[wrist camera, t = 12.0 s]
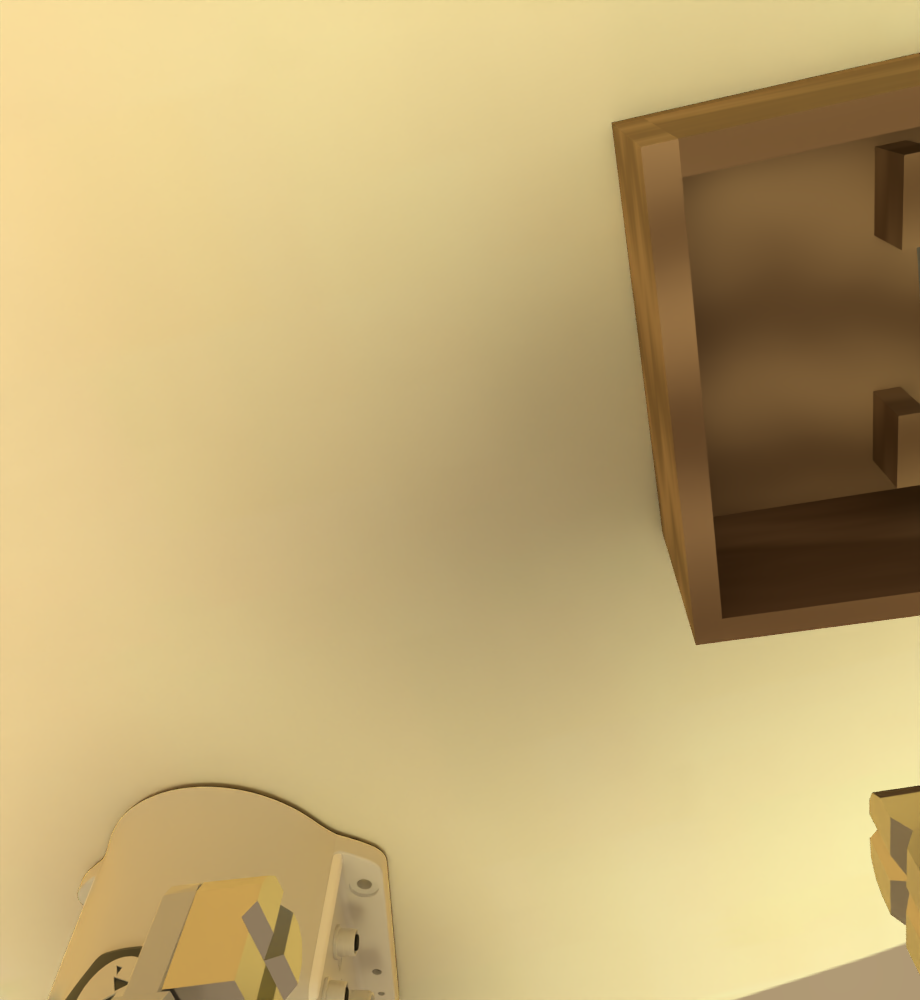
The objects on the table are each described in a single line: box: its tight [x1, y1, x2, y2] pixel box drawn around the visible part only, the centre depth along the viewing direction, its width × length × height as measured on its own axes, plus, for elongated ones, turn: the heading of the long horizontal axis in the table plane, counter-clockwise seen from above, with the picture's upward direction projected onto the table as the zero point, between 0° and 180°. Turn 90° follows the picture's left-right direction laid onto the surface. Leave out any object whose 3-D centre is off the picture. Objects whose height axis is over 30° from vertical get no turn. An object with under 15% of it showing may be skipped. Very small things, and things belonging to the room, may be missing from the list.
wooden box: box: [612, 53, 920, 645], centre depth 29 cm, size 17×14×8 cm
